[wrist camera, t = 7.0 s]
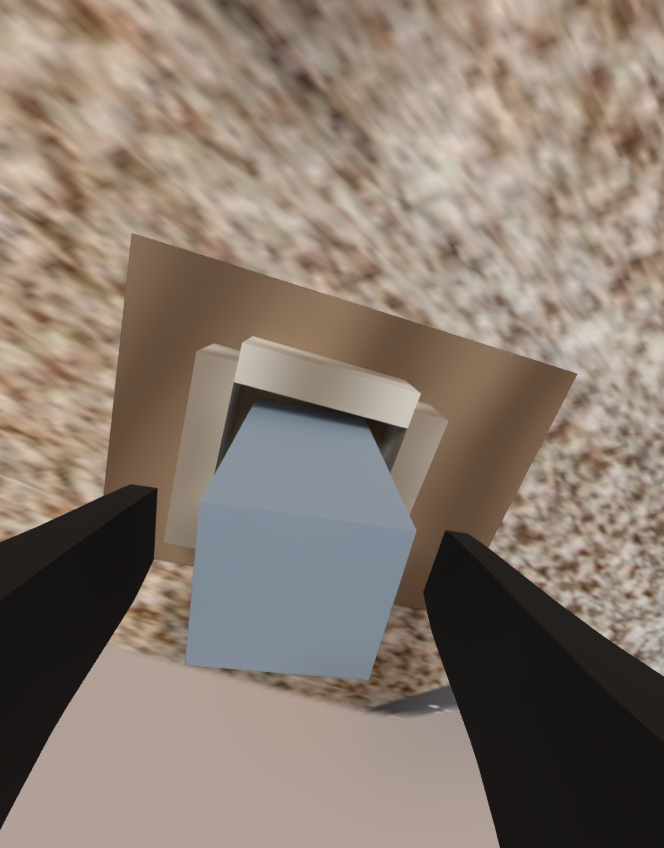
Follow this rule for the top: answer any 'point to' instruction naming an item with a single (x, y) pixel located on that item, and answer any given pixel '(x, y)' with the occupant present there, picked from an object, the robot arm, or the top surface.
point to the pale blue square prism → (297, 547)
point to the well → (315, 397)
